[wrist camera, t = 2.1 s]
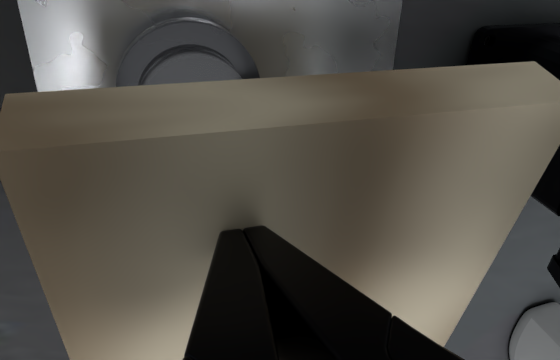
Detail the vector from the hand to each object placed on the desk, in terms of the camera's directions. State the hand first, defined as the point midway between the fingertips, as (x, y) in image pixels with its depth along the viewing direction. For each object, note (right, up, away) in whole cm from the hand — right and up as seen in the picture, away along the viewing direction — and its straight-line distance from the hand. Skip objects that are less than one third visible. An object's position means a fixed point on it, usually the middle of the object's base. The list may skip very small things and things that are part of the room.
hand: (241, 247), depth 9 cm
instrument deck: (0, -5, +7) cm, 9 cm away
